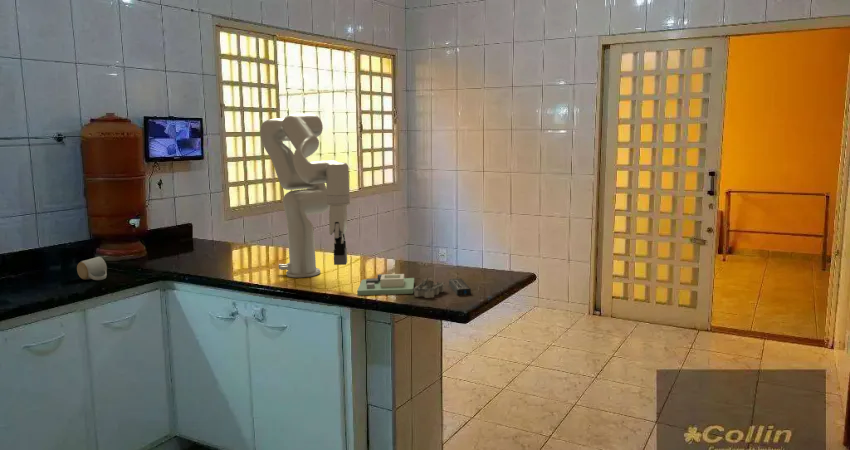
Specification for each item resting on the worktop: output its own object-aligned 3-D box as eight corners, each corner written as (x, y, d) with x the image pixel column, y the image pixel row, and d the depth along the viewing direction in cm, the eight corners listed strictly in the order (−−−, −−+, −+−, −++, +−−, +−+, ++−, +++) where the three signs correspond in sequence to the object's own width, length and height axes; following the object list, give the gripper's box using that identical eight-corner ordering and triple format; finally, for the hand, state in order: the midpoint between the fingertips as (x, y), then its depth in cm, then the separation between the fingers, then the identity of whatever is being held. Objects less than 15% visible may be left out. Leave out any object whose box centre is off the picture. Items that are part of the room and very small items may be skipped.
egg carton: (427, 289, 207) (427, 277, 207) (447, 291, 203) (447, 279, 203) (410, 296, 198) (409, 284, 198) (430, 299, 194) (430, 286, 194)
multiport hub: (461, 284, 212) (461, 278, 211) (471, 295, 198) (471, 288, 197) (448, 285, 211) (448, 279, 211) (457, 296, 197) (457, 289, 197)
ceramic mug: (76, 279, 238) (74, 259, 236) (97, 274, 245) (95, 255, 243) (92, 282, 232) (90, 262, 231) (113, 277, 239) (111, 258, 238)
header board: (357, 295, 201) (356, 283, 201) (362, 283, 216) (361, 272, 215) (413, 293, 201) (412, 281, 200) (414, 282, 216) (413, 270, 215)
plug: (334, 264, 209) (333, 237, 208) (335, 262, 213) (334, 235, 211) (346, 264, 209) (344, 237, 208) (347, 262, 213) (346, 235, 211)
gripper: (330, 196, 215) (333, 248, 219) (322, 203, 199) (325, 259, 202) (352, 196, 215) (354, 248, 218) (346, 203, 199) (348, 259, 202)
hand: (340, 253), depth 210 cm, fingers closed on plug, 3 cm apart
